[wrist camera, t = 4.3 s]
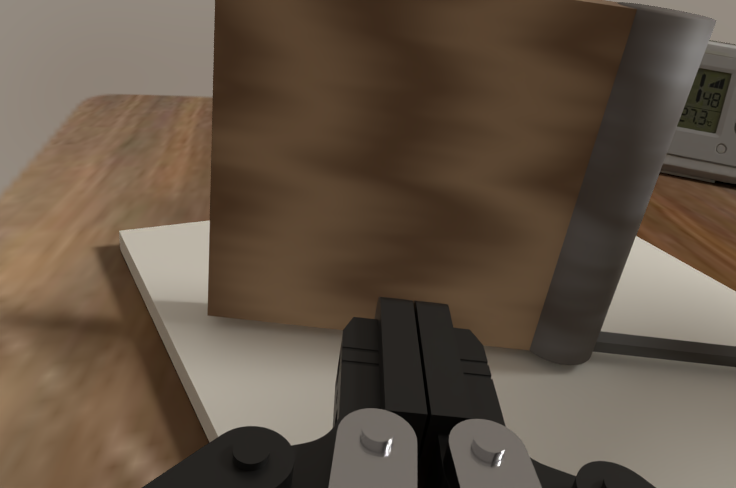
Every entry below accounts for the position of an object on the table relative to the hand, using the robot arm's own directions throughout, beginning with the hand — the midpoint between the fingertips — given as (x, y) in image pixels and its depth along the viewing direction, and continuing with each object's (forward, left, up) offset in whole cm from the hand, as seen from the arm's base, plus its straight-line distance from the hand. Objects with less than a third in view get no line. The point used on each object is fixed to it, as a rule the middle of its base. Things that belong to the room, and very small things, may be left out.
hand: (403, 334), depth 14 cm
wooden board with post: (-11, -5, -7) cm, 14 cm away
